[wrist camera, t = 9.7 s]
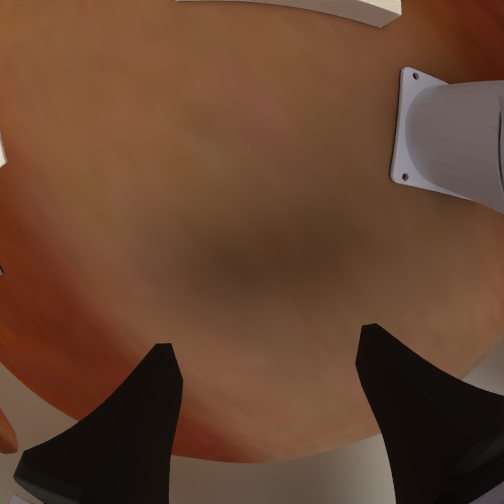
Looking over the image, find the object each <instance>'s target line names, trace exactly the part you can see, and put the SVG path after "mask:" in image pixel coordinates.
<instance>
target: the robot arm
mask: <svg viewBox="0 0 504 504" xmlns="http://www.w3.org/2000/svg"><path fill="white" fill-rule="evenodd" d="M413 74H415V76H416V80H415V79H414V78H413ZM404 173H405V175H406V177H405V179H404V180H403V179H402V175H403V174H404ZM390 177H391V179H392V180H393V181H394V182H396V183H400V184H405V185H409V186H414V187H419V188H423V189H428V190H432V191H436V192H440V193H444V194H448V195H452V196H456V197H460V198H464V199H468V200H471V201H475V202H478V203H480V204H482V205H485V206H487V207H489V208H491V209H493V210H496V211H498V212H500V213H502V214H504V80H497V81H479V82H467V83H457V84H448V83H446V82H444V81H441V80H439V79H437V78H435V77H432V76H430V75H428V74H425V73H423V72H420V71H418V70H415V69H413V68H410V67H405V68H403V69H402V70H401V79H400V95H399V108H398V119H397V128H396V137H395V145H394V152H393V159H392V166H391V173H390ZM355 364H356V368H357V372H358V375H359V379H360V382H361V385H362V388H363V390H364V392H365V395H366V397H367V399H368V402H369V404H370V406H371V409H372V411H373V413H374V416H375V418H376V420H377V423H378V425H379V427H380V430H381V433H382V436H383V439H384V443H385V446H386V450H387V454H388V458H389V463H390V467H391V472H392V478H393V483H394V490H395V497H396V504H504V396H503V395H499V394H495V393H492V392H489V391H485V390H483V389H480V388H477V387H475V386H473V385H470V384H468V383H465V382H463V381H461V380H459V379H457V378H455V377H453V376H451V375H449V374H448V373H446V372H444V371H442V370H440V369H439V368H437V367H435V366H434V365H432V364H431V363H429V362H428V361H426V360H425V359H423V358H422V357H420V356H419V355H418V354H416V353H415V352H413V351H412V350H411V349H409V348H408V347H407V346H405V345H404V344H403V343H401V342H400V341H399V340H398V339H396V338H395V337H394V336H392V335H391V334H390V333H389V332H387V331H386V330H385V329H383V328H382V327H381V326H379V325H378V324H377V323H374V324H369V325H363V326H362V328H361V334H360V340H359V346H358V352H357V357H356V362H355ZM182 390H183V378H182V375H181V372H180V369H179V366H178V363H177V360H176V357H175V354H174V351H173V348H172V344H171V343H163V344H155V346H154V347H153V348H152V349H151V350H150V351H149V353H148V354H147V355H146V356H145V357H144V359H143V360H142V361H141V362H140V363H139V365H138V366H137V367H136V368H135V369H134V371H133V372H132V373H131V374H130V375H129V376H128V377H127V379H126V380H125V381H124V382H123V383H122V384H121V385H120V386H119V387H118V388H117V389H116V390H115V391H114V392H113V393H112V395H111V396H110V397H109V398H107V399H106V400H105V401H104V402H103V403H102V404H101V405H100V406H99V407H97V408H96V409H95V410H94V411H93V412H92V413H90V414H89V415H88V416H86V417H85V418H84V419H82V420H81V421H79V422H78V423H77V424H75V425H74V426H72V427H71V428H69V429H68V430H66V431H65V432H63V433H61V434H60V435H58V436H56V437H54V438H52V439H50V440H48V441H46V442H44V443H42V444H40V445H37V446H35V447H33V448H30V449H28V450H25V451H24V452H23V455H22V457H21V459H20V461H19V464H18V466H17V469H16V471H15V473H14V476H13V477H14V480H15V481H16V482H17V483H18V484H19V485H20V486H21V487H22V488H24V489H25V490H26V491H28V492H29V493H30V494H32V495H33V496H35V497H36V498H37V499H39V500H40V501H42V502H43V503H44V504H169V472H170V458H171V451H172V445H173V440H174V436H175V431H176V426H177V421H178V417H179V412H180V407H181V401H182ZM11 504H34V503H32V502H29V501H28V500H26V499H24V498H22V497H20V496H18V495H16V494H14V495H13V498H12V501H11Z"/></svg>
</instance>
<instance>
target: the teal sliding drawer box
mask: <svg viewBox="0 0 504 504" xmlns="http://www.w3.org/2000/svg"><path fill="white" fill-rule="evenodd" d="M6 163H7V159H6V155H5V150H4V146H3V142H2V137H1V132H0V168H1V167H2V166H3V165H4V164H6ZM2 274H3V273H2V271H1V269H0V275H2Z"/></svg>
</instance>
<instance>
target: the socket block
mask: <svg viewBox="0 0 504 504" xmlns="http://www.w3.org/2000/svg"><path fill="white" fill-rule="evenodd" d="M175 1H176V2H179V1H242V2H256V3H266V4H275V5H283V6H290V7H296V8H302V9H308V10H313V11H318V12H323V13H327V14H332V15H336V16H340V17H344V18H348V19H352V20H355V21H359V22H362V23H365V24H369V25H372V26H375V27H378V28H381V27H383V26H385V25H386V24H388V23H389V22H391V21H393V20H394V19H396V18H397V17H399V16H401V0H175Z"/></svg>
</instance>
